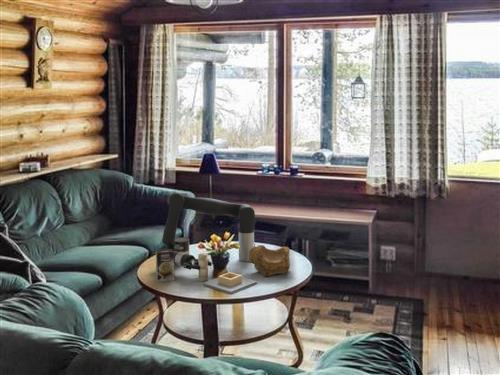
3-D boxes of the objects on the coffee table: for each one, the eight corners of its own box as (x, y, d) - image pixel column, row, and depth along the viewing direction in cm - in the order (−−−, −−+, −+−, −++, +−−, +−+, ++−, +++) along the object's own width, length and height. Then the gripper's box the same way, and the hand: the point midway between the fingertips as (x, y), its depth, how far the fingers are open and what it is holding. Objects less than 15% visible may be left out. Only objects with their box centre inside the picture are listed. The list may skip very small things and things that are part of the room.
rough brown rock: (249, 280, 304) (250, 254, 300) (248, 268, 320) (248, 243, 316) (292, 280, 305) (293, 254, 301) (288, 268, 321) (290, 243, 317)
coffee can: (185, 265, 326) (185, 242, 324) (169, 264, 329) (168, 241, 327) (192, 260, 336) (192, 237, 333) (176, 259, 339) (176, 236, 336)
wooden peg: (203, 277, 306) (203, 252, 303) (210, 279, 302) (209, 254, 300) (196, 279, 302) (196, 254, 300) (203, 282, 299) (202, 256, 296)
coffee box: (157, 282, 299) (156, 253, 296) (156, 278, 305) (155, 249, 302) (174, 280, 301) (173, 251, 298) (173, 276, 307) (172, 248, 304)
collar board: (229, 275, 309) (229, 267, 308) (257, 283, 296) (257, 274, 295) (203, 285, 294) (203, 276, 293) (231, 293, 281) (231, 285, 280)
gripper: (175, 256, 304) (195, 262, 294) (194, 250, 315) (214, 256, 304) (175, 270, 305) (196, 276, 295) (194, 263, 316) (215, 269, 306)
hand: (205, 266), depth 300 cm, fingers open, 8 cm apart
